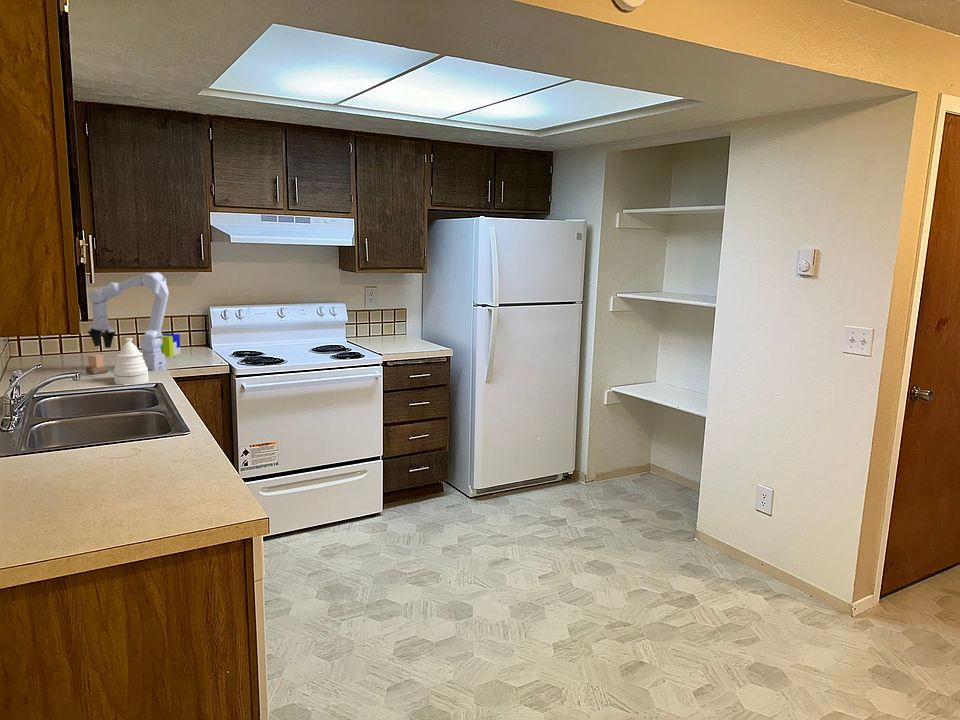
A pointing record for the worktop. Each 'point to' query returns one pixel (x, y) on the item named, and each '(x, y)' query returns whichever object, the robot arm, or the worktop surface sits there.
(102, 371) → the base block
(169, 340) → the puzzle toy
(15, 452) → the worktop surface
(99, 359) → the top block
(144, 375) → the honey pot
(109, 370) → the build board
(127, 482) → the worktop surface
